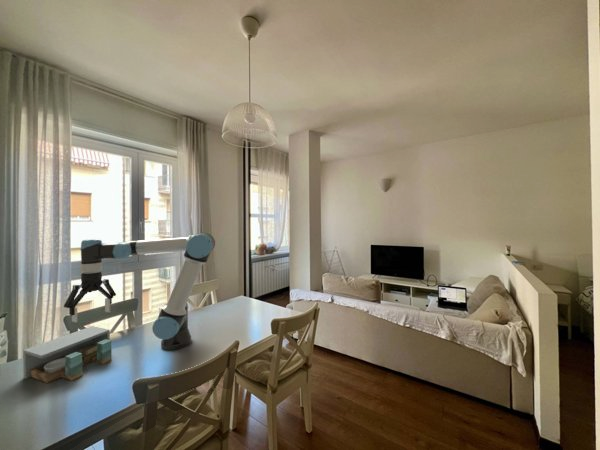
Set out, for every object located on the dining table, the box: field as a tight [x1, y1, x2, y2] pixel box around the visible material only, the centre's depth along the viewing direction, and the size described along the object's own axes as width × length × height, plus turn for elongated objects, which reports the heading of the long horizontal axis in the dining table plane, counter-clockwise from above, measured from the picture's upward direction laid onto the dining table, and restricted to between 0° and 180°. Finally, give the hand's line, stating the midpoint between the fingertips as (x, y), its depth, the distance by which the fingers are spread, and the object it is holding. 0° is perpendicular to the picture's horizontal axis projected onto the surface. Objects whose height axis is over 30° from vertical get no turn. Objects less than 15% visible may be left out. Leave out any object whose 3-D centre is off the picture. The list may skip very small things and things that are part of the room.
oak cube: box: [80, 345, 97, 356], centre depth 123 cm, size 5×5×5 cm
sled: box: [29, 352, 85, 384], centre depth 110 cm, size 20×13×10 cm, turn 70°
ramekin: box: [44, 358, 65, 374], centre depth 111 cm, size 9×9×4 cm
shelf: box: [22, 325, 111, 379], centre depth 117 cm, size 14×26×12 cm, turn 160°
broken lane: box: [78, 339, 113, 366], centre depth 122 cm, size 18×9×10 cm, turn 70°
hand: (92, 316), depth 117 cm, fingers open, 13 cm apart
